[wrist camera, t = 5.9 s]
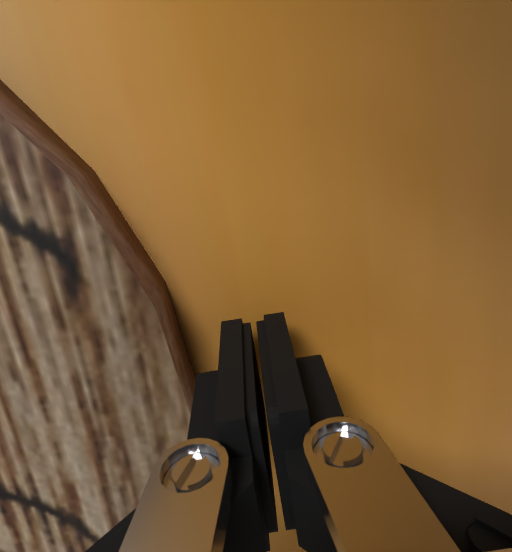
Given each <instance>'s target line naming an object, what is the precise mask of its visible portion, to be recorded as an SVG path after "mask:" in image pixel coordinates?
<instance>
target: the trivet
mask: <svg viewBox="0 0 512 552" xmlns="http://www.w3.org/2000/svg"><path fill="white" fill-rule="evenodd" d="M195 383H196V378H195V375H194V372H193V369H192V365H191V362H190V359H189V356H188V353H187V350H186V346H185V343H184V340H183V337H182V334H181V331H180V327H179V324H178V321H177V318H176V315H175V311H174V308H173V305H172V302H171V299H170V296H169V292H168V289H167V286H166V283H165V281H164V279H163V277H162V276H161V274H160V273H159V271H158V270H157V268H156V267H155V265H154V263H153V262H152V260H151V259H150V257H149V256H148V254H147V253H146V251H145V249H144V248H143V246H142V245H141V243H140V242H139V240H138V238H137V237H136V235H135V234H134V232H133V231H132V229H131V228H130V226H129V224H128V223H127V221H126V220H125V218H124V217H123V215H122V213H121V212H120V210H119V209H118V207H117V206H116V204H115V203H114V201H113V199H112V198H111V196H110V195H109V193H108V192H107V190H106V189H105V187H104V185H103V184H102V182H101V181H100V179H99V178H98V176H97V174H96V173H95V171H94V170H93V169H92V168H91V167H90V166H89V165H88V164H87V163H86V162H85V161H84V160H83V159H82V158H81V157H80V156H79V155H77V154H76V153H75V152H74V151H73V150H72V149H71V148H70V147H69V146H68V145H67V144H66V143H65V142H64V141H63V140H62V139H61V138H60V137H59V136H58V135H57V134H56V133H55V132H54V131H53V130H52V129H51V128H50V127H49V126H48V125H47V124H46V123H45V122H43V121H42V120H41V119H40V118H39V117H38V116H37V115H36V114H35V113H34V112H33V111H32V110H31V109H30V108H29V107H28V106H27V105H26V104H25V103H24V102H23V101H22V100H21V99H20V98H19V97H18V96H17V95H16V94H15V93H14V92H13V91H12V90H11V89H9V88H8V87H7V86H6V85H5V84H4V83H3V82H2V81H1V80H0V552H85V551H86V550H87V549H88V548H90V547H91V546H92V545H93V544H94V543H95V542H97V541H98V540H99V539H100V538H101V537H103V536H104V535H105V534H106V533H107V532H108V531H110V530H111V529H112V528H113V527H114V526H115V525H117V524H118V523H119V522H120V521H121V520H123V519H124V518H125V517H126V516H127V515H128V514H130V513H131V512H132V511H133V510H134V509H135V508H137V506H138V503H139V501H140V499H141V496H142V494H143V491H144V489H145V486H146V484H147V482H148V479H149V477H150V474H151V472H152V469H153V467H154V466H155V464H156V462H157V461H158V459H159V458H160V457H161V456H162V455H163V454H164V453H165V452H166V451H167V450H168V449H170V448H171V447H173V446H174V445H176V444H178V443H180V442H183V441H186V440H187V436H188V429H189V423H190V416H191V409H192V403H193V396H194V390H195Z"/></svg>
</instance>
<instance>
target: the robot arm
mask: <svg viewBox="0 0 512 552" xmlns="http://www.w3.org/2000/svg"><path fill="white" fill-rule="evenodd" d="M256 323H257V332H258V341H259V350H260V359H261V368H262V377H263V386H264V395H265V404H266V412H267V419H268V426H269V432H270V438H271V444H272V450H273V456H274V462H275V468H276V474H277V479H278V485H279V491H280V497H281V503H282V509H283V515H284V521H285V527H286V530H291V529H296V531H297V537H298V544H299V546H300V547H302V548H303V549H304V550H306V551H307V552H512V515H510V514H509V513H507V512H505V511H502V510H500V509H498V508H496V507H494V506H492V505H489V504H487V503H485V502H483V501H481V500H478V499H476V498H474V497H472V496H470V495H468V494H465V493H463V492H461V491H459V490H457V489H455V488H452V487H450V486H448V485H446V484H444V483H441V482H439V481H437V480H435V479H433V478H431V477H428V476H426V475H424V474H422V473H420V472H418V471H415V470H413V469H411V468H409V467H407V466H405V465H402V464H400V463H399V462H398V461H397V459H396V458H395V456H394V455H393V454H392V452H391V451H390V449H389V448H388V446H387V445H386V443H385V442H384V441H383V439H382V438H381V436H380V435H379V433H378V432H377V431H376V430H375V429H374V428H373V427H372V426H370V425H369V424H367V423H365V422H364V421H362V420H358V419H355V418H352V417H344V415H343V412H342V409H341V407H340V404H339V401H338V399H337V396H336V393H335V391H334V388H333V385H332V383H331V380H330V377H329V375H328V372H327V369H326V367H325V364H324V361H323V359H322V356H321V355H315V356H308V357H302V358H295V356H294V352H293V348H292V344H291V340H290V336H289V332H288V329H287V325H286V321H285V317H284V313H283V312H280V313H274V314H267V315H264V320H263V321H257V322H256ZM271 532H278V525H277V516H276V506H275V497H274V488H273V478H272V469H271V460H270V450H269V441H268V432H267V422H266V414H265V407H264V401H263V395H262V389H261V383H260V377H259V371H258V365H257V359H256V353H255V347H254V342H253V336H252V330H251V324H250V323H244V324H243V322H242V319H235V320H229V321H222V322H221V335H220V350H219V366H218V370H217V371H210V372H204V373H198V374H197V377H196V383H195V390H194V396H193V403H192V409H191V416H190V423H189V429H188V436H187V440H186V441H183V442H180V443H178V444H176V445H174V446H173V447H171V448H170V449H168V450H167V451H166V452H165V453H164V454H163V455H162V456H161V457H160V458H159V459H158V461H157V462H156V464H155V466H154V467H153V469H152V472H151V474H150V477H149V479H148V482H147V484H146V486H145V489H144V491H143V494H142V496H141V499H140V501H139V503H138V506H137V508H135V509H134V510H133V511H132V512H131V513H130V514H128V515H127V516H126V517H125V518H124V519H123V520H121V521H120V522H119V523H118V524H117V525H115V526H114V527H113V528H112V529H111V530H110V531H108V532H107V533H106V534H105V535H104V536H103V537H101V538H100V539H99V540H98V541H97V542H95V543H94V544H93V545H92V546H91V547H90V548H88V549H87V550H86V551H85V552H266V551H270V543H269V533H271Z"/></svg>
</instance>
